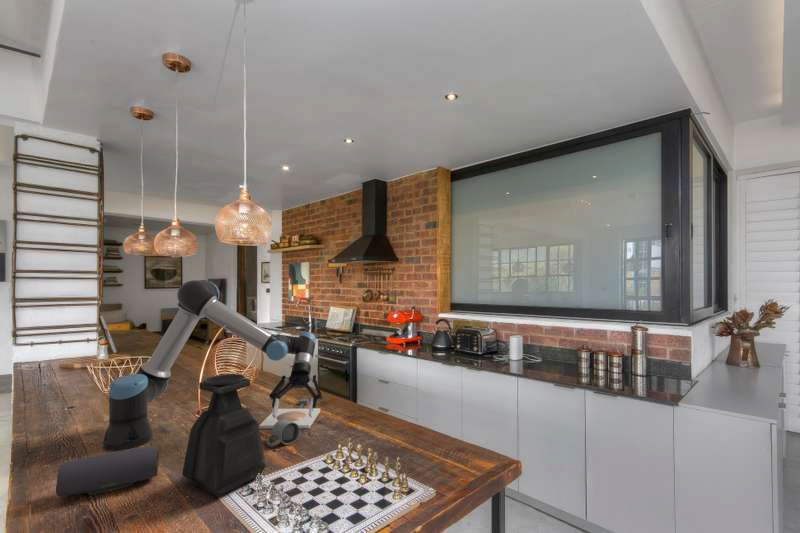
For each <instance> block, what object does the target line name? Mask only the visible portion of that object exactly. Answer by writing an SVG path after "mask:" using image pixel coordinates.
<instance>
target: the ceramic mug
mask: <svg viewBox="0 0 800 533" xmlns="http://www.w3.org/2000/svg"><path fill="white" fill-rule="evenodd" d="M300 429H301V428H299V426H298V424H297V423H295V422H292V421H289V420H286V419H282V420H279V421H277V422H276V423H275V425H274V427H273V429H272V435H270V436H268V438H267V439H266V444H267V446H268V447H269V448H273V447H275V446H277V445H279V444H282V445H285V446H289V445H293V444H294V443H296V441H297V440H298V438H299V436H300V431H301V430H300ZM274 439H275V440H274ZM273 440H274V441H273ZM271 441H272V442H271Z"/></svg>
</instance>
